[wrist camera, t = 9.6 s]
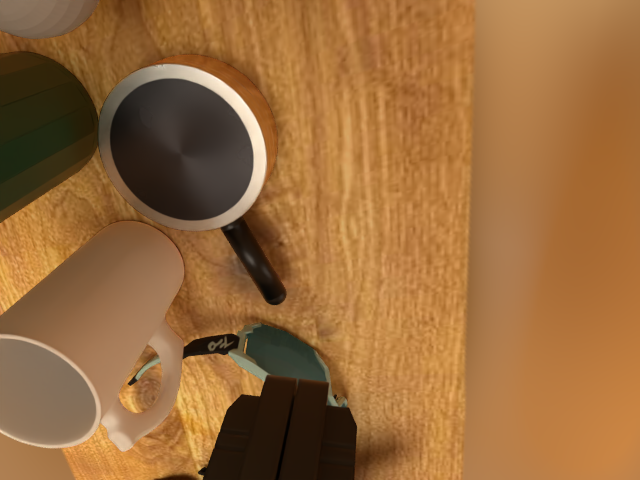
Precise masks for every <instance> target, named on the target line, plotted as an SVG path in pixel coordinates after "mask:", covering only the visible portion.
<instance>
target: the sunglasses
mask: <svg viewBox="0 0 640 480" xmlns="http://www.w3.org/2000/svg"><path fill="white" fill-rule="evenodd" d="M247 338H248V341H247V348H246V354H245V353H243V352H244V346H245V342H246V339H247ZM214 353H219V354H222V355H226V354H228V355H229V356H230V357H231V358H232V359H233V360H234V361H235V362H236V363H237V364H238V365H239V366H240V367H242V368H243V369H245V370H247V371H248V372H250V373H252V374H253V375H255V376H257V377H258V378H260V379H261V380H263V381H265V378H266V376H267V375H275V376H283V377H291V378H297V386H298V382H299V379H308V380H316V381H324V382H329V392H328V402H327V405H331V406H339V407H346V408H347V400H346V398H345V397H344V396H343V397H339V398H337V399H336V397H337V395H336V394H335V395H334V396H333V395H332V388H331V380H330V373H329V369H328V367H327V366H326V364H325V363H324V362H323V360H322V359H321V357H320V356H319V354H318V353H317V351H316V350H314V349H313V348H311V347H310V346H308V345H307V344H305V343H303V342H302V341H300V340H299V339H297V338H296V337H294V336H292V335H291V334H289V333H288V332H286V331H283V330H280V329H277V328H274V327H271V326H268V325H265V324H261V322H259V323H254V324H249V325H245V326H244V328H243V329H242V330H241V331H238V333H237V335H234V334H224V335H217V336H210V337H204V338H200V339H196V340H193V341H192V342H191V343H189V344H188V345H187V346H185V347H184V349H183V359H184V358H186V357H188V356H195V355H205V354H214ZM157 363H160V358H159V356H158V355H156V356H155V357H153V358H152V359H151V360H149V361H148V362H147V363H146V364H145V365H144V366H143V367H142V368H141V370H140V371H139V372H138V374H137V375H136V376H134V377H133V378H132V379H131V381H130V382H129V383H128V385H130V386H131V385H132V384H134V383H135V382H136V381H138V380H139V378H140V377H141V375H142V374H143V373H144V372H145V371H146V370H147V369H149V368H150V367H152V366H153V365H155V364H157ZM335 399H336V400H335ZM206 469H207V468H206V467H204V468H202V469H201V470H200V471H198V474H200V475H204V474H205V471H206Z"/></svg>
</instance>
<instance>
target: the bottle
mask: <svg viewBox="0 0 640 480" xmlns="http://www.w3.org/2000/svg"><path fill="white" fill-rule="evenodd" d="M97 143H98V119H97V114H96V111H95V108H94V105H93V103H92V101H91V99H90V97H89V95H88V93H87V92H86V90H85V89H84V87H83V86H82V85H81V83H80V82H79V81H78V80H77V79H76V78H75V76H73V75H72V74H71V73H70V72H69V71H68V70H67V69H65V68H64V67H63V66H61V65H60V64H58V63H57V62H55V61H53V60H52V59H49V58H47V57H45V56H42V55H39V54H36V53H31V52H11V53H2V54H0V223H1V222H2V221H4V220H5V219H7V218H8V217H10V216H11V215H13V214H15V213H16V212H18V211H19V210H21V209H22V208H24V207H25V206H27V205H28V204H30V203H31V202H33V201H34V200H36V199H37V198H39V197H40V196H42V195H43V194H45V193H46V192H48V191H49V190H51V189H52V188H54V187H56V186H57V185H59V184H60V183H62V182H63V181H65V180H66V179H68V178H69V177H71V176H72V175H74V174H75V173H77V172H78V171H79V170H81V168H82V167H84V166H85V165H86V164H87V163H88V162H89V160H90V159H91V158H92V156H93V154H94V152H95V149H96V147H97Z"/></svg>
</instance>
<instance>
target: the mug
mask: <svg viewBox="0 0 640 480" xmlns="http://www.w3.org/2000/svg"><path fill="white" fill-rule="evenodd" d="M183 279H184V263H183V260H182V257H181V255H180V252H179V251H178V249H177V247H176V246H175V245H174V243H173V242H172V241H171V240H170V239H169V238H168V237H167V236H166V235H165V234H163V233H162V232H161V231H159V230H158V229H156V228H154V227H152V226H150V225H147V224H144V223H141V222H136V221H120V222H115V223H112V224H110V225H108V226H106V227H104V228H103V229H102V230H100V231H99V232H98V233H97V234H96V235H95V236H93V237H92V238H91V239H90V240H89V241H87V242H86V243H85V244H84V245H83V246H81V247H80V248H79V249H78V250H77V251H76V252H74V253H73V254H72V255H71V256H70V257H69V258H67V259H66V260H65V261H64V262H63V263H62V264H61V265H59V266H58V267H57V268H56V269H55V270H54V271H52V272H51V273H50V274H49V275H48V276H47V277H45V278H44V279H43V280H42V281H41V282H40V283H38V284H37V285H36V286H35V287H34V288H33V289H31V290H30V291H29V292H28V293H27V294H25V295H24V296H23V297H22V298H21V299H20V300H18V301H17V302H16V303H15V304H14V305H13V306H11V307H10V308H9V309H8V310H7V311H6V312H4V313H3V314H2V315H1V316H0V432H1V433H3V434H4V435H6V436H8V437H10V438H13V439H15V440H18V441H20V442H23V443H26V444H29V445H33V446H38V447H45V448H65V447H71V446H75V445H78V444H80V443H83V442H85V441H86V440H88V439H89V438H90V437H91V436H92V435H93V434H94V433H95V431H96V430H97V428H98V426H99V424H100V423H101V424H102V425H104V426H105V427H106V429H107V431H108V438H109V439H110V440H111V441H112V442H113V443H114V444H115V445H116V446H117V447H118V449H119V450H120V451H122V452H124V451H127V450H129V449H131V448H132V447H133V445H134V444H135V443H136V442H137V441H138V440H139V439H140V438H142V437H143V436H145V435H147V434H148V433H150V432H151V431H152V430H154V429H155V428H156V427H157V426H159V425H160V424H161V423H162V422H163V421H164V420H165V418H166V417H167V416H168V414H169V413H170V411H171V409H172V407H173V405H174V403H175V400H176V397H177V394H178V390H179V386H180V379H181V370H182V359H183V349H184V342H183V340H182V339H181V338H180V337H179V336H178V335H177V334H176V333H175V332H174V331H173V330H172V329H171V328H170V326H169V325H168V323H167V321H166V318H165V315H166V312H167V310H168V309H169V307H170V305H171V303H172V301H173V300H174V298H175V296H176V294H177V293H178V291H179V289H180V287H181V285H182V283H183ZM147 344H149V345H150V346H151V347H152V348H153V349H154V350H155V351H156V352H157V354H158V356H159V358H160V362H161V367H162V380H161V385H160V389H159V393H158V395H157V398H156V400H155V401H154V403H153V404H152V405H151V407H150V408H149V409H147V410H146V411H144V412H142V413H132V412H130V411H128V410H127V409H126V408H125V407H124V406H123V405H122V403H121V402H120V399H119V393H120V389H121V388H122V386H123V384H124V383H125V381H126V379H127V378H128V376H129V374H130V372H131V371H132V369H133V367H134V366H135V364H136V362H137V361H138V359H139V357H140V356H141V354H142V352H143V350H144V349H145V347H146V345H147Z"/></svg>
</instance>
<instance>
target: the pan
mask: <svg viewBox="0 0 640 480" xmlns="http://www.w3.org/2000/svg"><path fill="white" fill-rule="evenodd" d="M98 147H99V151H100V156H101V159H102V162H103V165H104V168H105V170H106V172H107V174H108V177H109V178H110V180H111V182H112V183H113V185H114V187H115V188H116V189H117V191H118V192H119V193H120V194H121V196H122V197H123V198H124V199H125V200H126V201H127V202H128V203H129V204H130V205H131V206H132V207H134V208H135V209H136V210H137V211H138V212H140V213H141V214H143V215H144V216H146V217H147V218H149V219H151V220H153V221H155V222H157V223H159V224H162V225H164V226H166V227H170V228H173V229H177V230H183V231H196V232H197V231H208V230H213V229H218V228H221V230H222V232H223V233H224V235H225V237H226V238H227V240H228V241H229V243H230V245H231V246H232V248H233V249H234V251H235V253H236V254H237V256H238V257H239V259H240V261H241V262H242V264H243V266H244V267H245V269H246V270H247V272H248V274H249V275H250V277H251V278H252V280H253V282H254V283H255V285H256V286H257V288H258V290H259V291H260V293H261V294H262V296H263V298H264V299H265V301H266V302H267V303H269V304H271V305H279V304H281V303H282V302H283V301H284V300H285V298H286V293H287V292H286V289H285V287H284V285H283V283H282V282H281V280H280V278H279V277H278V275H277V273H276V272H275V270H274V268H273V267H272V265H271V263H270V262H269V260H268V258H267V257H266V255H265V253H264V252H263V250H262V248H261V247H260V245H259V243H258V242H257V240H256V238H255V237H254V235H253V233H252V232H251V230H250V228H249V227H248V225H247V223H246V222H245V220H244V218H243V217H242V216H243V215H244V214H245V213H246V212H247V211H248V210H249V209H250V208H251V207H252V205H253V204H254V203H255V201H256V200H257V198H258V196H259V194H260V193H261V191H262V189H263V187H264V186H265V184H266V182H267V180H268V178H269V177H270V175H271V173H272V170H273V168H274V165H275V161H276V157H277V149H278V138H277V130H276V124H275V121H274V118H273V114H272V112H271V110H270V108H269V105H268V103H267V102H266V100H265V98H264V97H263V95H262V94H261V92H260V91H259V90H258V89H257V87H256V86H255V85H254V84H253V83H252V82H251V81H250V80H249V79H248V78H247V77H246V76H245V75H243V74H242V73H241V72H240V71H238V70H237V69H235V68H234V67H232V66H230V65H229V64H227V63H224V62H222V61H220V60H218V59H214V58H211V57H208V56H202V55H196V54H183V55H176V56H171V57H168V58H165V59H162V60H160V61H157V62H155V63H152V64H150V65H147V66H145V67H142V68H140V69H138V70H136V71H134V72H132V73H130V74H129V75H127V76H126V77H124V78H123V79H122V80H121V81H120V82H119V83H118V84H117V85H116V86H115V87H114V88H113V89H112V91H111V92H110V93H109V95H108V97H107V98H106V100H105V102H104V104H103V107H102V110H101V113H100V117H99V122H98Z"/></svg>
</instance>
